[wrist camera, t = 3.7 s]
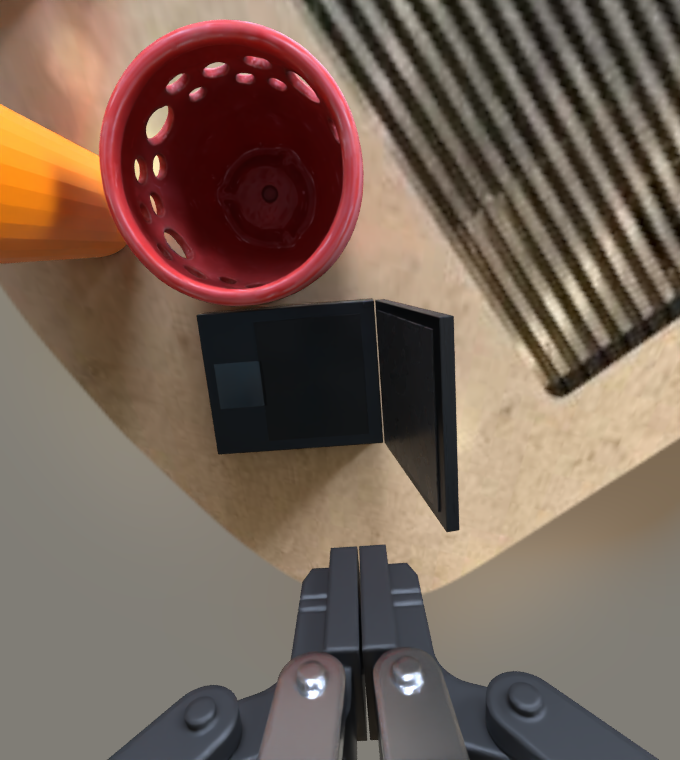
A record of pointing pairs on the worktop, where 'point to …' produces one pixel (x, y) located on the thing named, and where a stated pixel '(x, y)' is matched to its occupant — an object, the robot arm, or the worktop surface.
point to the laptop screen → (421, 401)
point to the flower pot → (232, 163)
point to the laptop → (292, 376)
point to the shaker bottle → (50, 197)
